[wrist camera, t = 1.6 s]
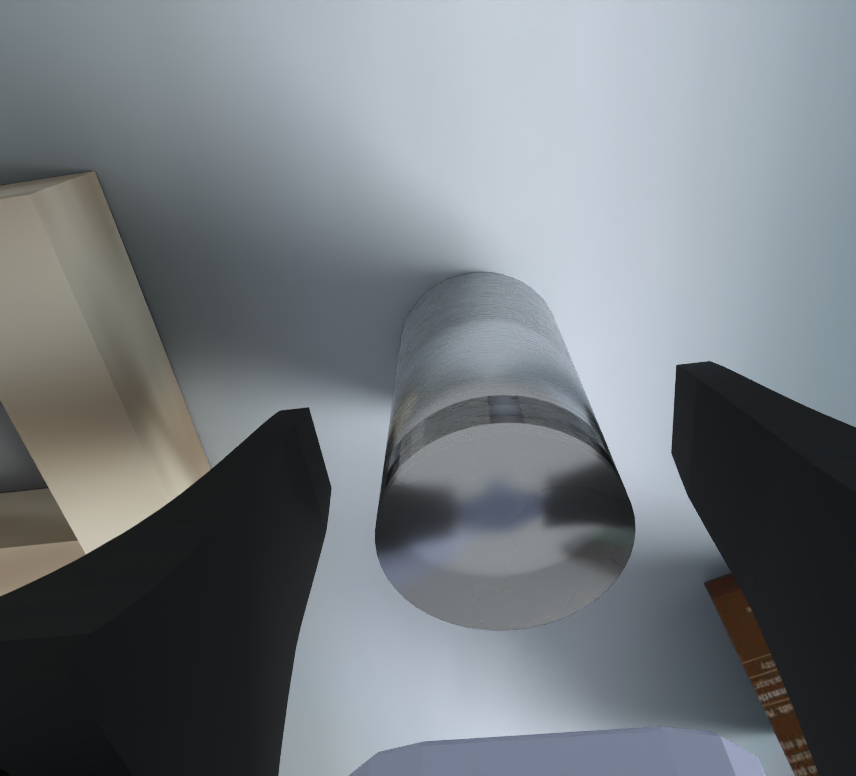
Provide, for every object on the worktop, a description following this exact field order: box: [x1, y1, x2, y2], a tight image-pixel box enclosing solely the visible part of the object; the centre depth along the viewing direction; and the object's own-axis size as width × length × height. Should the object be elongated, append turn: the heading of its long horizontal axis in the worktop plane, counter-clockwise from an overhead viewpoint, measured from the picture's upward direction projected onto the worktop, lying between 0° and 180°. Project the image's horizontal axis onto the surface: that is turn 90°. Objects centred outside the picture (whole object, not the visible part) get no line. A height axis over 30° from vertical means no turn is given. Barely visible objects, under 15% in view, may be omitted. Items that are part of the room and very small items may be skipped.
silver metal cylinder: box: [375, 272, 635, 630], centre depth 13 cm, size 4×4×7 cm
